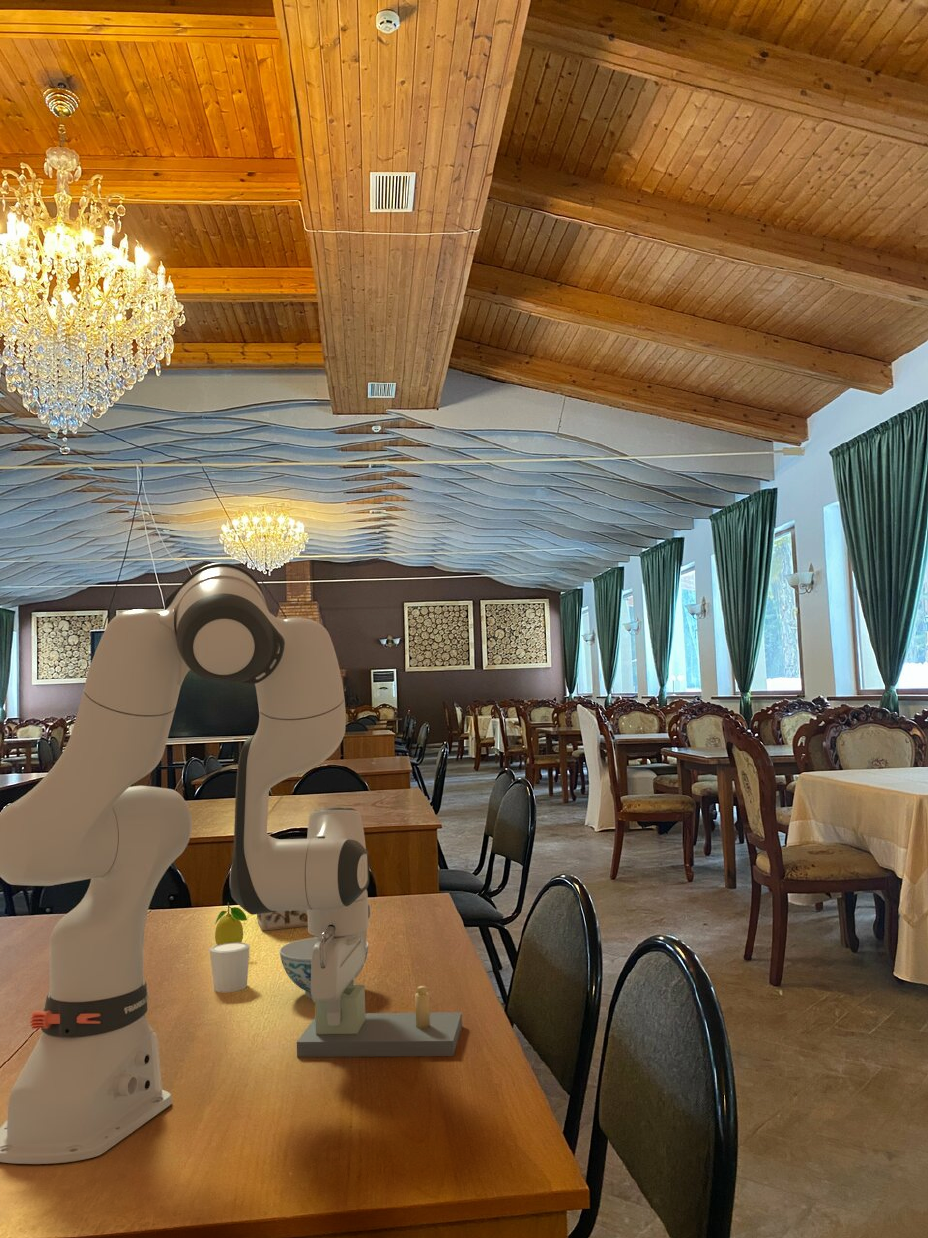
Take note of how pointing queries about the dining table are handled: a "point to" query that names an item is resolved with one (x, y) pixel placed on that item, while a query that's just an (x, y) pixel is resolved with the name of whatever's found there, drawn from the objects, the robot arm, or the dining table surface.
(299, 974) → the chinaware
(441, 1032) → the stand board
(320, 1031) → the collar block
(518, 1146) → the dining table surface
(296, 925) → the decorative jar
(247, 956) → the shot glass
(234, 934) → the lemon
